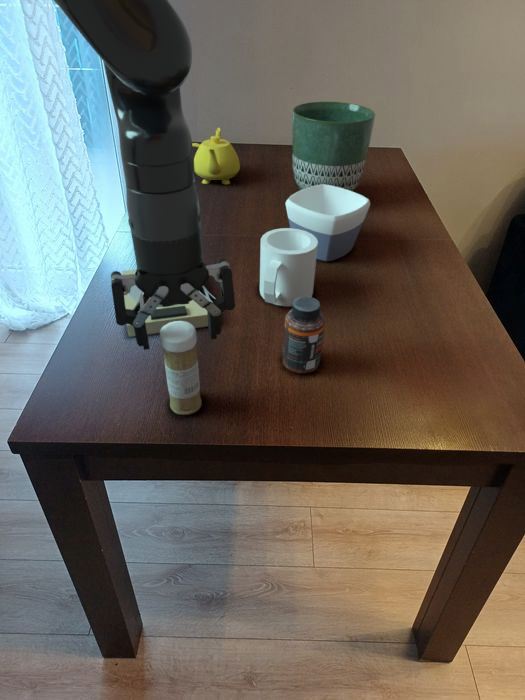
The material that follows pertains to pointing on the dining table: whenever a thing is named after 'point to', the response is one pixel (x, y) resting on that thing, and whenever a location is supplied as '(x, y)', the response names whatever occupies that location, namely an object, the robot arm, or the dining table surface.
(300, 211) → the bowl
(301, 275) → the mug
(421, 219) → the dining table surface
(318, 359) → the supplement bottle
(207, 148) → the teapot
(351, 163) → the planter
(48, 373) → the dining table surface
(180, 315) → the scale
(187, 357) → the sprinkles bottle
